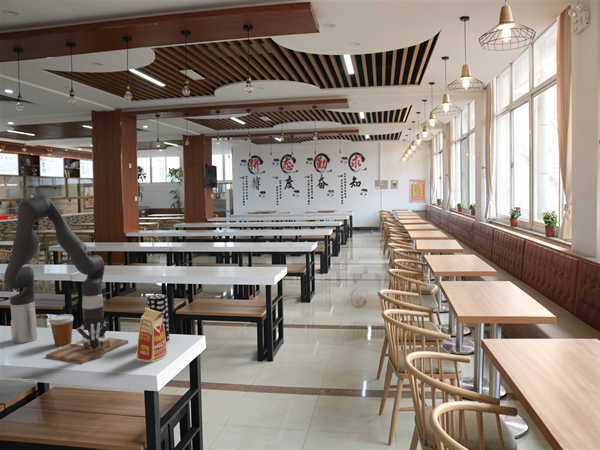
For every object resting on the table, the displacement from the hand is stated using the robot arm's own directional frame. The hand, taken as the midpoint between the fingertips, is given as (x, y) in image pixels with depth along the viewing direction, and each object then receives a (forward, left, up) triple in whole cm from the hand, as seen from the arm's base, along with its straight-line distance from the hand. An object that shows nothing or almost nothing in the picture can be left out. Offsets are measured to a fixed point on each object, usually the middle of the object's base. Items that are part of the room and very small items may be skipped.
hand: (94, 348), depth 180 cm
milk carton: (+23, +7, -4) cm, 24 cm away
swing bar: (-4, +4, -1) cm, 6 cm away
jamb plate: (-9, +5, -4) cm, 11 cm away
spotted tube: (+13, +23, -4) cm, 27 cm away
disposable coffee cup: (-26, +7, -4) cm, 27 cm away
